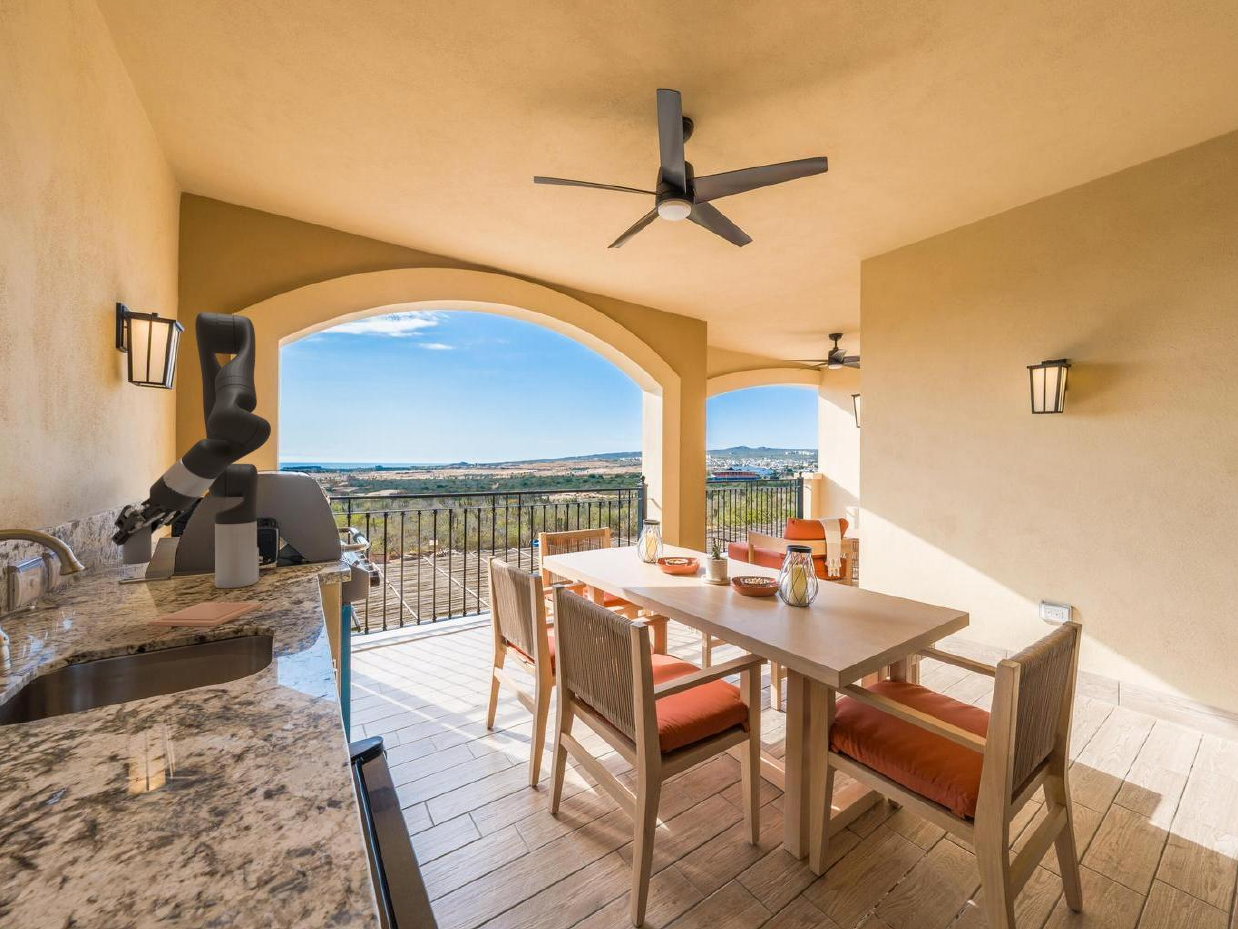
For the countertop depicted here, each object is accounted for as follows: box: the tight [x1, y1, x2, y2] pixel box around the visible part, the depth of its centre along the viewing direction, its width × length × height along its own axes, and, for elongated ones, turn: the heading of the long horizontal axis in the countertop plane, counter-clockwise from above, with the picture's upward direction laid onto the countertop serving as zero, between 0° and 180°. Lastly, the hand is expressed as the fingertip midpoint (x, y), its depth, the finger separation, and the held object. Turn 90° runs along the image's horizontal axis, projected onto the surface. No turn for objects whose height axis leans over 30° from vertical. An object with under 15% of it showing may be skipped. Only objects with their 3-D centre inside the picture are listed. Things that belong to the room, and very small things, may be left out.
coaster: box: [147, 601, 263, 627], centre depth 115 cm, size 14×14×1 cm
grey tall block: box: [122, 515, 153, 566], centre depth 107 cm, size 4×4×11 cm
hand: (128, 539), depth 107 cm, fingers closed on grey tall block, 4 cm apart
